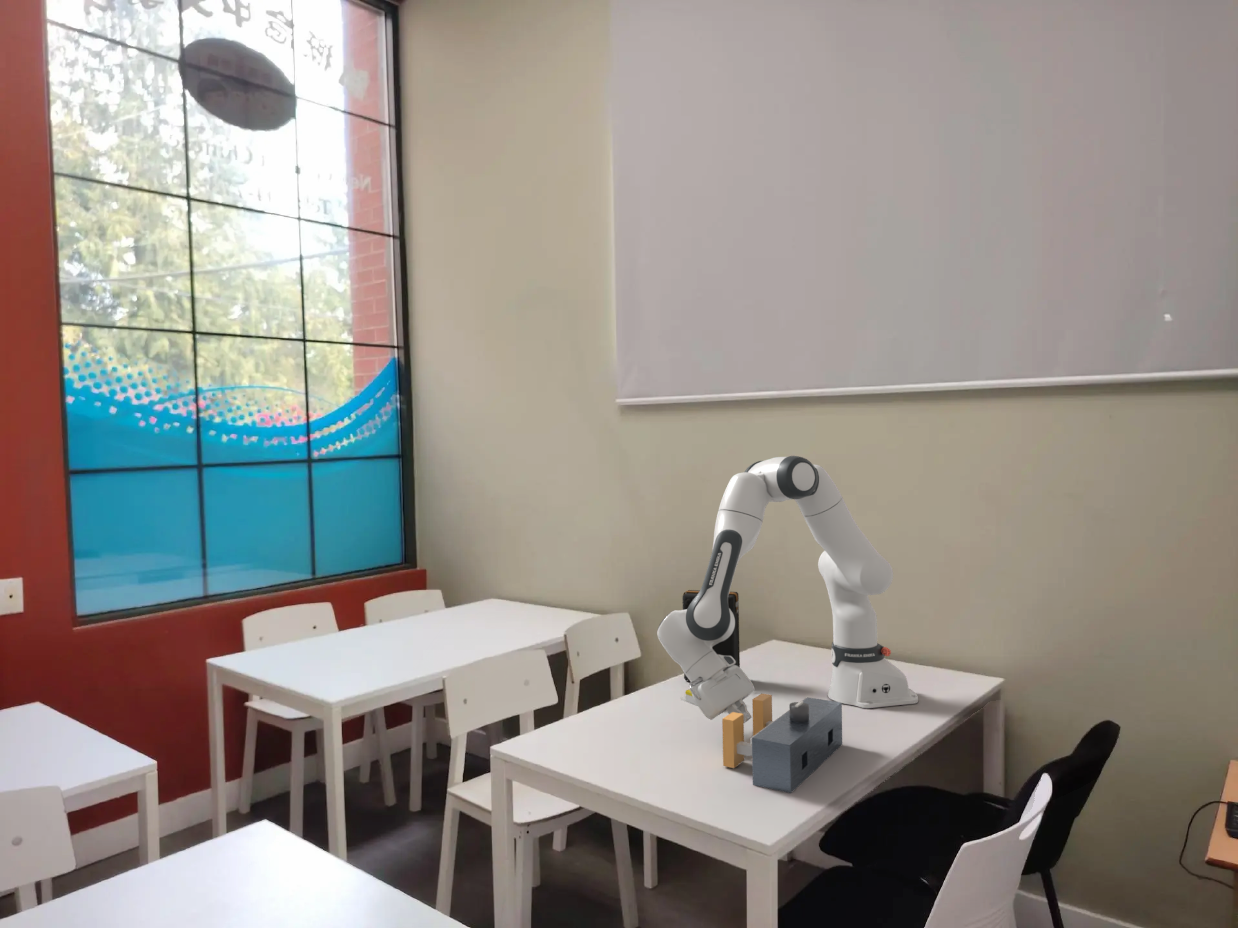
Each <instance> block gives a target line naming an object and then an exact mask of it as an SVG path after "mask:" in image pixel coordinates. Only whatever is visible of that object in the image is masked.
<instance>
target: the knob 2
mask: <svg viewBox="0 0 1238 928" xmlns="http://www.w3.org/2000/svg"><path fill="white" fill-rule="evenodd" d="M751 704H752V737H753V736H754V735H756V734H757V733H758V732H760V731H761V730H762V729H764V728H765V727H766V726H768V725H769V724H771V723H772V722H773V721H774V720H773V695H772V694H767V693H760V694H759V695H757V696H755V697H753V698H752V703H751Z"/></svg>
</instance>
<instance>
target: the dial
mask: <svg viewBox="0 0 1238 928" xmlns="http://www.w3.org/2000/svg"><path fill="white" fill-rule="evenodd" d="M788 705H789V707H788V708H789V710H790V720H791V721H794V722H807V721H809V705H808V704H806V703H803V701H802V700H800V701H794V702H790V703H789V704H788Z"/></svg>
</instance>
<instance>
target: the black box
mask: <svg viewBox="0 0 1238 928" xmlns="http://www.w3.org/2000/svg"><path fill="white" fill-rule="evenodd" d="M700 590H701V589H700ZM700 590H696V589H689V590H686V591H685V592H683V595H682V610H686V609H688V607H689V605H690V603H691V602H692V601H693V599H694V598H695V597H696V596H697V594H698V593H699V591H700ZM739 602H740V601H739V593H738V592H737V591H730V592H729V595H728V606H729V609H730V610H731V611H732V613H733V614H734V617H735V628H734V630H733V632H732V634H731V635H730V636H729V637H728V638H727V639H726V640H724V641H722V642H720V643H718V644H716V645H714V646H713V647H712V649H713V650H714V651H715V653H716V654H717V655H718V654H719V655H724V656H732V657H733V658H734V660H735V661H736V663H735V664H734V665H737V666H738V667H739V668H741V662H740V659H741V658H740V655H741V653H740V610H739V608H740V607H739V604H740V603H739ZM683 679H684V680H685V681H690V680H689V679H688V678H687V676H686V675H685V674H684V673H683ZM690 682H691V681H690Z"/></svg>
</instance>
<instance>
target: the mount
mask: <svg viewBox="0 0 1238 928" xmlns="http://www.w3.org/2000/svg"><path fill="white" fill-rule="evenodd" d="M801 701H803V703H806V704H808V705H809V721H807V722H794V721H791V720H790V709H788V710H787V711H785V712H784V713H782V715H780V716H779V717H777V718H776V719H775V720H772V721H773V722H772V723H771V724H769V725H768V726H766V727H765V728H764V729H762V730H761V731H760V732H758V733H757V734H756V735H754V736H753V735H752V737H750V738H749V743H750V744H751V745H752V756H751V757H752V759H751V761H752V785H753V786H756V787H762V788H765V789H771V790H775V791H779V792H783V793H787V794H792V793H793V792H794V791H795V790H796V789H797V788H798V787H799V786H800V785H801V784H803V782H804V781H806V779H808V778H809V777H810V776H811V775H812V774H813V773H814V772H815V771H816V770H817V769H818V768H819V767H821V765H822V764H823V763H824V762H825V761H827V760H828V759H829V758H830V757H831V756H832V755H833V754H834V753H835V752H836V751H837V750H839V748H841V747H842V745H843V710H842V708H843V703H842V702H836V701H834V700H828V699H821V698H816V697H805V698H803V699H802V700H801Z"/></svg>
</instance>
